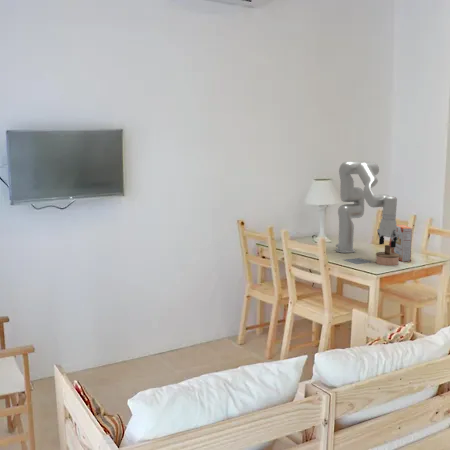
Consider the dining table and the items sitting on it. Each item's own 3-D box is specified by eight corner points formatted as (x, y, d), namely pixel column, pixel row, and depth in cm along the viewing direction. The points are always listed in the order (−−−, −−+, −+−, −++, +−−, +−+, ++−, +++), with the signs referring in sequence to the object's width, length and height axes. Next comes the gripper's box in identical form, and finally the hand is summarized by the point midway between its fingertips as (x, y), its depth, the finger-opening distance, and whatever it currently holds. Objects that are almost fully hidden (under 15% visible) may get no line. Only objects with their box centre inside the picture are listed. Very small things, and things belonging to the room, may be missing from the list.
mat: (342, 260, 332) (342, 259, 332) (359, 258, 338) (359, 258, 338) (356, 265, 321) (356, 264, 321) (373, 263, 327) (373, 262, 326)
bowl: (371, 262, 327) (372, 254, 326) (387, 261, 332) (387, 253, 332) (386, 267, 316) (386, 258, 315) (402, 265, 321) (402, 256, 321)
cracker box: (392, 257, 344) (394, 224, 341) (402, 257, 344) (403, 224, 341) (401, 261, 330) (402, 227, 327) (410, 261, 330) (412, 227, 327)
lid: (371, 254, 326) (371, 244, 326) (387, 252, 332) (388, 243, 331) (386, 258, 315) (387, 248, 314) (403, 256, 321) (404, 246, 320)
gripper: (374, 215, 326) (372, 243, 329) (394, 219, 311) (392, 249, 314) (383, 214, 330) (381, 242, 332) (404, 219, 314) (402, 248, 317)
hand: (387, 245), depth 323 cm, fingers open, 9 cm apart
